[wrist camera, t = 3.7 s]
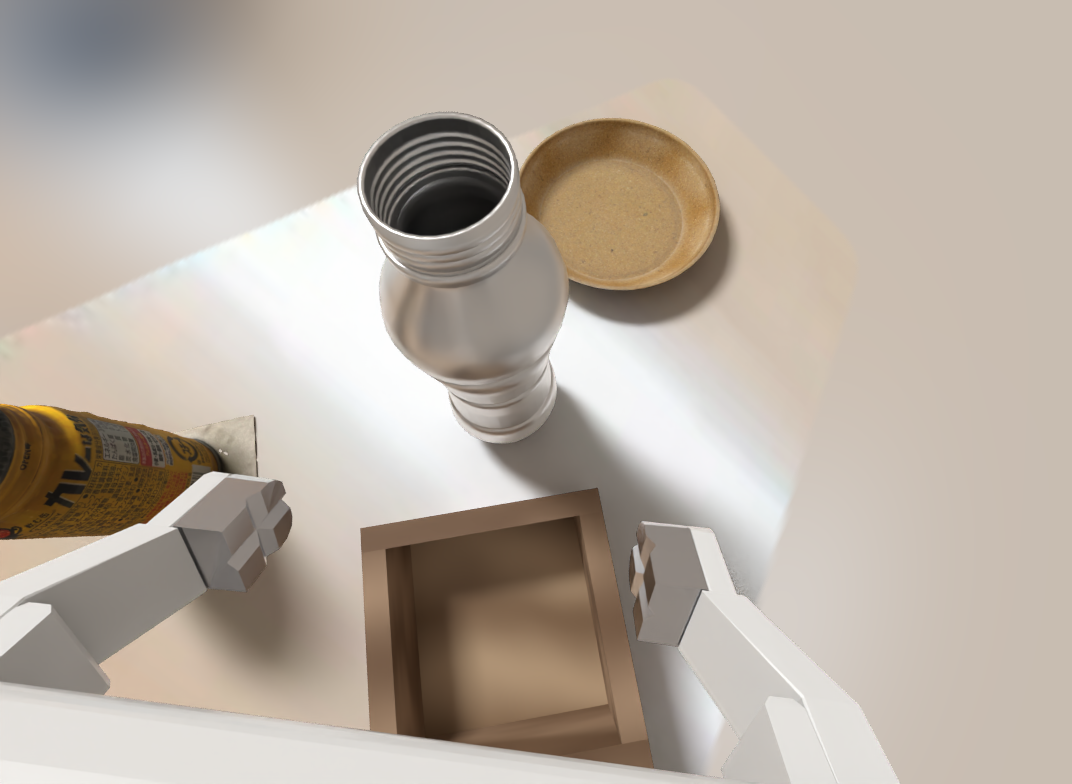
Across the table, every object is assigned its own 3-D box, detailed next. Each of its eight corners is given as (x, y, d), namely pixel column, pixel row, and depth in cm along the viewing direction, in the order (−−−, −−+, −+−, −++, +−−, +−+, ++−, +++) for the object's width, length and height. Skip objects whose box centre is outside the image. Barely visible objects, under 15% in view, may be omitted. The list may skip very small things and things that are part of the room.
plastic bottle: (438, 394, 29) (235, 157, 10) (518, 338, 30) (476, 25, 11) (494, 470, 28) (383, 368, 8) (576, 408, 29) (645, 189, 9)
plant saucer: (649, 122, 36) (657, 92, 33) (743, 262, 32) (761, 240, 29) (486, 183, 34) (481, 157, 32) (565, 338, 30) (567, 322, 28)
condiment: (127, 443, 28) (-156, 394, 17) (255, 415, 29) (63, 349, 17) (123, 557, 26) (-201, 589, 15) (260, 525, 27) (47, 533, 15)
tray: (631, 718, 24) (654, 770, 19) (409, 760, 23) (374, 824, 18) (587, 492, 27) (597, 487, 22) (393, 525, 27) (360, 528, 22)
